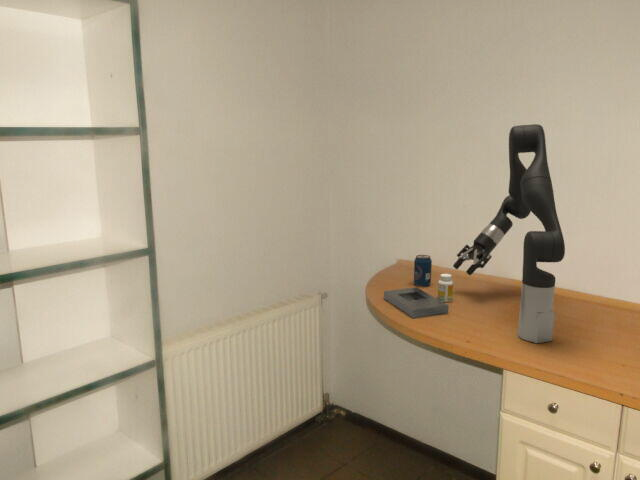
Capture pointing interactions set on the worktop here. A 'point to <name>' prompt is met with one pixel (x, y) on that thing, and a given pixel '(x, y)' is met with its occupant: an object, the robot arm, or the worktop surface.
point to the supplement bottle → (445, 288)
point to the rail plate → (416, 302)
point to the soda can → (422, 270)
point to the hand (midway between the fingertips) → (461, 270)
